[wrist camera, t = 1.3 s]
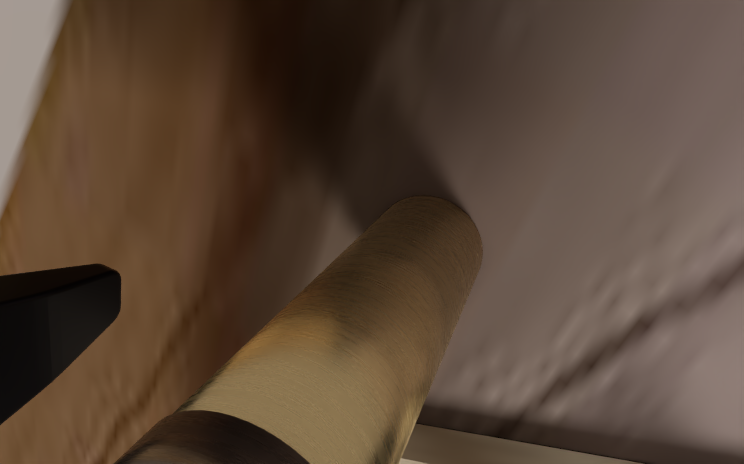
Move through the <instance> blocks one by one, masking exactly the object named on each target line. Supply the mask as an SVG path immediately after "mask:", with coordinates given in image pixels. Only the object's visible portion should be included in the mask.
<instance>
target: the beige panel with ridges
mask: <svg viewBox="0 0 744 464" xmlns="http://www.w3.org/2000/svg"><path fill="white" fill-rule="evenodd" d="M399 464H643V463H637V462H632V461H626V460H620V459H615V458H609V457H603V456H597V455H592V454H586V453H580V452H575V451H569V450H563V449H558V448H552V447H546V446H540V445H535V444H529V443H523V442H518V441H512V440H506V439H501V438H495V437H489V436H484V435H478V434H472V433H466V432H461V431H455V430H449V429H444V428H438V427H432V426H427V425H421V424H415V426H414V428H413V431H412V433H411V436H410V438H409V441H408V443H407V445H406V448H405V450H404V453H403V455H402V457H401V460H400V462H399Z"/></svg>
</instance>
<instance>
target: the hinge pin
mask: <svg viewBox="0 0 744 464" xmlns="http://www.w3.org/2000/svg"><path fill="white" fill-rule="evenodd" d="M482 255H483V249H482V242H481V238H480V235H479V232H478V230H477V228H476V226H475V224H474V223H473V221H472V220H471V219H470V217H469V216H468V215H467V214H466V213H465V212H464V211H463V210H461V209H460V208H459V207H458V206H456V205H454V204H453V203H451V202H449V201H447V200H445V199H442V198H439V197H434V196H426V195H420V196H412V197H408V198H405V199H402V200H400V201H398V202H397V203H395V204H394V205H392V206H391V207H390V208H389V209H388V210H387V211H386V212H385V213H384V214H383V215H382V216H381V217H379V218H378V219H377V220H376V221H375V222H374V223H373V224H372V225H371V226H370V227H369V228H368V229H367V230H366V231H365V232H364V233H363V234H362V235H361V236H359V237H358V238H357V239H356V240H355V241H354V242H353V243H352V244H351V245H350V246H349V247H348V248H347V249H346V250H345V251H344V252H343V253H342V254H340V255H339V256H338V257H337V258H336V259H335V260H334V261H333V262H332V263H331V264H330V265H329V266H328V267H327V268H326V269H325V270H324V271H323V272H322V273H320V274H319V275H318V276H317V277H316V278H315V279H314V280H313V281H312V282H311V283H310V284H309V285H308V286H307V287H306V288H305V289H304V290H303V291H302V292H300V293H299V294H298V295H297V296H296V297H295V298H294V299H293V300H292V301H291V302H290V303H289V304H288V305H287V306H286V307H285V308H284V309H283V310H282V311H280V312H279V313H278V314H277V315H276V316H275V317H274V318H273V319H272V320H271V321H270V322H269V323H268V324H267V325H266V326H265V327H264V328H263V329H261V330H260V331H259V332H258V333H257V334H256V335H255V336H254V337H253V338H252V339H251V340H250V341H249V342H248V343H247V344H246V345H245V346H244V347H243V348H241V349H240V350H239V351H238V352H237V353H236V354H235V355H234V356H233V357H232V358H231V359H230V360H229V361H228V362H227V363H226V364H225V365H224V366H223V367H221V368H220V369H219V370H218V371H217V372H216V373H215V374H214V375H213V376H212V377H211V378H210V379H209V380H208V381H207V382H206V383H205V384H204V385H203V386H201V387H200V388H199V389H198V390H197V391H196V392H195V393H194V394H193V395H192V396H191V397H190V398H189V399H188V400H187V401H186V402H185V403H184V404H182V405H181V406H180V407H179V408H178V409H177V410H176V411H175V412H174V413H173V414H172V415H169V416H167V417H165V418H164V419H162V420H160V421H159V422H158V423H157V424H156V425H154V426H153V427H152V428H151V429H150V430H149V431H148V432H147V433H146V434H145V435H144V436H143V437H142V438H141V439H140V440H138V441H137V442H136V443H135V444H134V445H133V446H132V447H131V448H130V449H129V450H128V451H127V452H126V453H125V454H123V455H122V456H121V457H120V458H119V459H118V460H117V461H116V462H115V463H114V464H399V462H400V460H401V457H402V455H403V453H404V450H405V448H406V445H407V443H408V441H409V438H410V436H411V433H412V431H413V428H414V426H415V424H416V421H417V419H418V416H419V414H420V412H421V409H422V407H423V404H424V402H425V400H426V397H427V395H428V392H429V390H430V387H431V385H432V383H433V380H434V378H435V375H436V373H437V371H438V368H439V366H440V363H441V361H442V358H443V356H444V354H445V351H446V349H447V346H448V344H449V342H450V339H451V337H452V334H453V332H454V330H455V327H456V325H457V322H458V320H459V317H460V315H461V313H462V310H463V308H464V305H465V303H466V301H467V298H468V296H469V293H470V291H471V289H472V286H473V284H474V281H475V279H476V276H477V274H478V272H479V269H480V266H481V262H482Z"/></svg>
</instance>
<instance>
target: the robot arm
mask: <svg viewBox="0 0 744 464" xmlns="http://www.w3.org/2000/svg"><path fill="white" fill-rule="evenodd" d="M120 308H121V276H120V274H119V273H118V272H117V271H116V270H114V269H111V268H109V267H107V266H105V265H102V264H90V265H82V266H74V267H66V268H58V269H51V270H43V271H35V272H27V273H19V274H11V275H4V276H0V425H1V424H2V423H3V422H4V421H6V420H7V419H8V418H9V417H11V416H12V415H13V414H14V413H15V412H17V411H18V410H19V409H20V408H21V407H23V406H24V405H25V404H26V403H27V402H29V401H30V400H31V399H32V398H34V397H35V396H36V395H37V394H38V393H40V392H41V391H42V390H43V389H44V388H45V387H47V386H48V385H49V384H50V383H51V382H52V381H53V380H55V379H56V378H57V377H58V376H59V375H60V374H61V373H62V372H63V371H64V370H65V369H66V368H67V367H68V366H69V365H70V364H71V363H72V362H73V361H74V360H75V359H76V358H77V357H78V356H79V355H80V354H81V353H82V352H83V351H84V350H85V349H86V348H87V347H88V346H89V345H90V344H91V343H92V342H93V341H94V340H95V339H96V338H97V337H98V336H99V335H100V334H101V333H102V332H103V331H104V330H105V329H106V328H107V327H108V326H109V325H110V324H111V323H113V321H114V320H115V319H116V318H117V316H118V314H119V312H120Z"/></svg>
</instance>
